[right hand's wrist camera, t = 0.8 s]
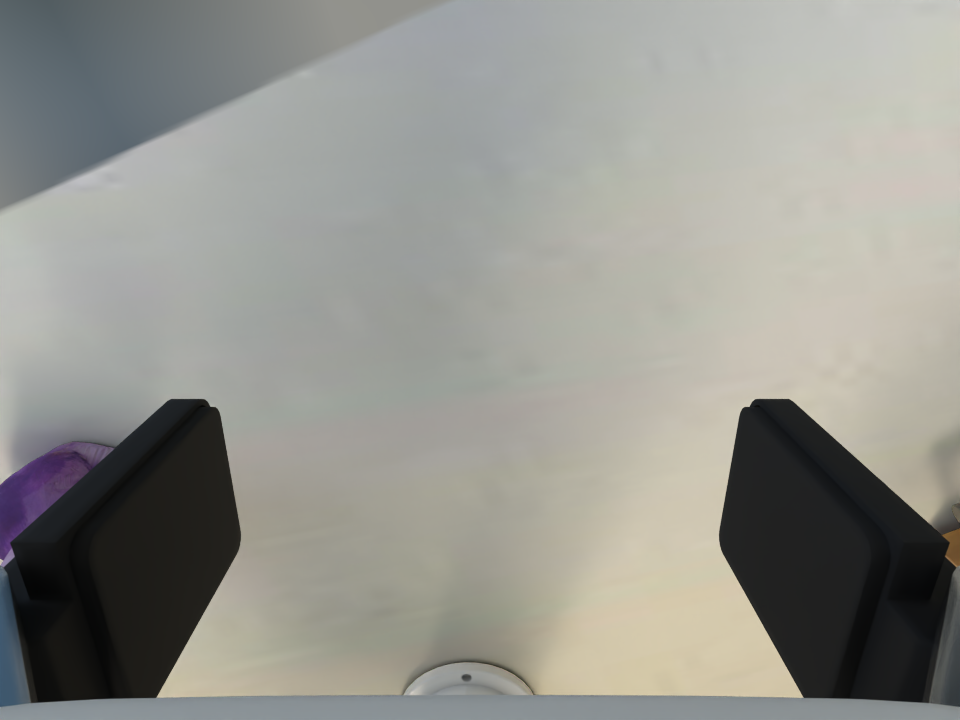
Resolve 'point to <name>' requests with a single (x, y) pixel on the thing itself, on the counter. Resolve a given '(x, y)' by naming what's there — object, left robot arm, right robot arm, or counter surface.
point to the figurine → (42, 487)
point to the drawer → (954, 539)
